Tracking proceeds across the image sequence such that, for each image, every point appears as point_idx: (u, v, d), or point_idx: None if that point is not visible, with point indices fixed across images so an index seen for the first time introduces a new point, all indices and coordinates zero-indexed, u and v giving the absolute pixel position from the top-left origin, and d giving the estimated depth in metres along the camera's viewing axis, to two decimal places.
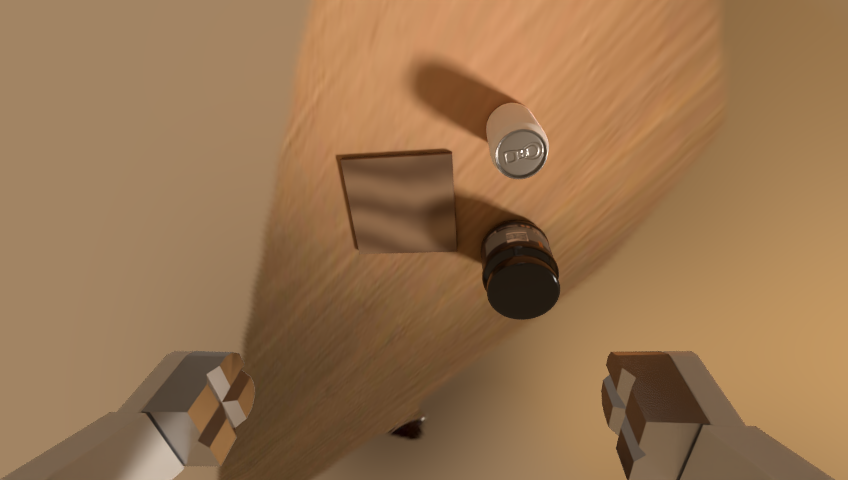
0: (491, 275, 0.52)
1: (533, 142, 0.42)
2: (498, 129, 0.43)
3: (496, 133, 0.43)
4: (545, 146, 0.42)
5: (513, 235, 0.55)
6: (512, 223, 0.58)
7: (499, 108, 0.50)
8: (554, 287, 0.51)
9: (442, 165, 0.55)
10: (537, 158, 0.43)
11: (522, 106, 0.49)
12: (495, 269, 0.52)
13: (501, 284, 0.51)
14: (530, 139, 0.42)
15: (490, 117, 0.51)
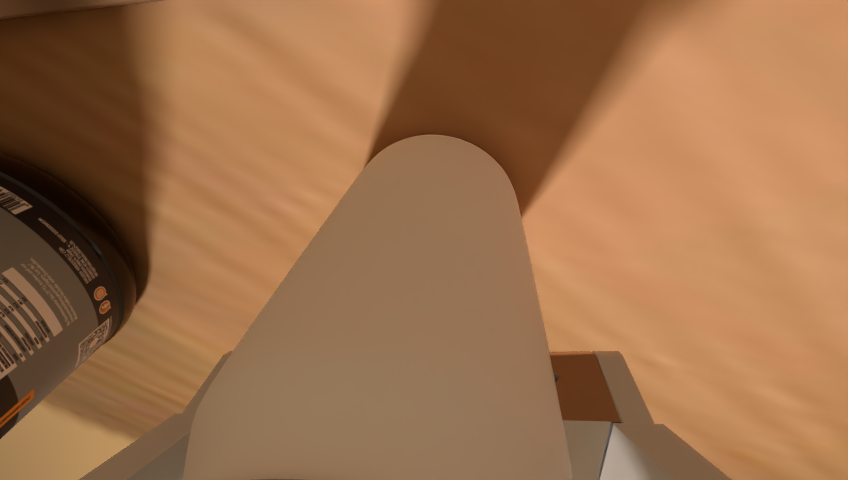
0: None
1: None
2: (512, 353, 0.06)
3: (493, 366, 0.05)
4: None
5: (6, 309, 0.13)
6: (97, 255, 0.16)
7: (510, 188, 0.13)
8: None
9: None
10: None
11: None
12: None
13: None
14: None
15: (478, 157, 0.12)
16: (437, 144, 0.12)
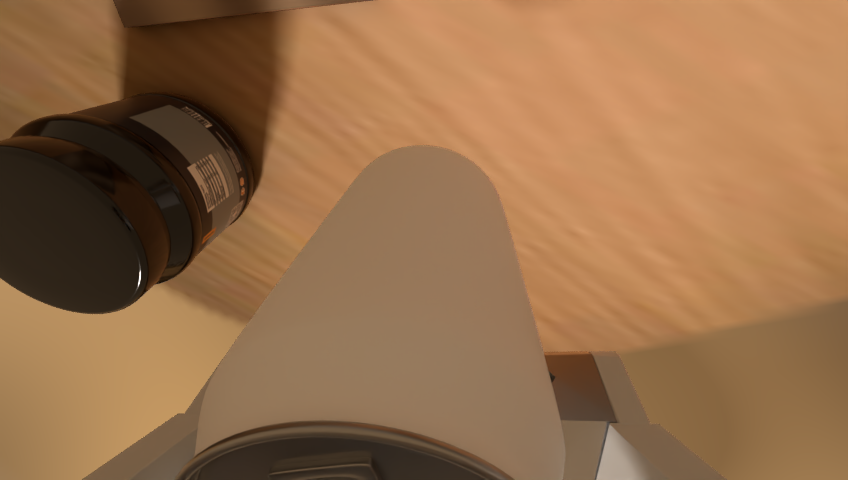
0: (59, 152, 0.18)
1: None
2: (510, 326, 0.06)
3: (495, 333, 0.06)
4: None
5: (211, 174, 0.24)
6: (241, 159, 0.27)
7: (498, 197, 0.14)
8: (102, 303, 0.21)
9: None
10: None
11: None
12: (86, 159, 0.18)
13: (41, 185, 0.17)
14: None
15: (468, 166, 0.13)
16: (430, 153, 0.13)
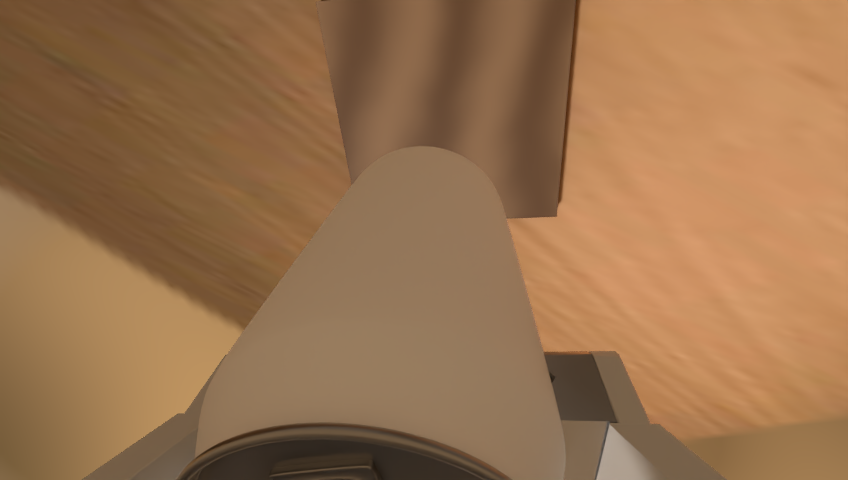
0: None
1: None
2: (511, 328, 0.06)
3: (496, 336, 0.06)
4: None
5: None
6: None
7: (498, 198, 0.14)
8: None
9: (536, 201, 0.30)
10: None
11: None
12: None
13: None
14: None
15: (469, 168, 0.13)
16: (431, 154, 0.13)
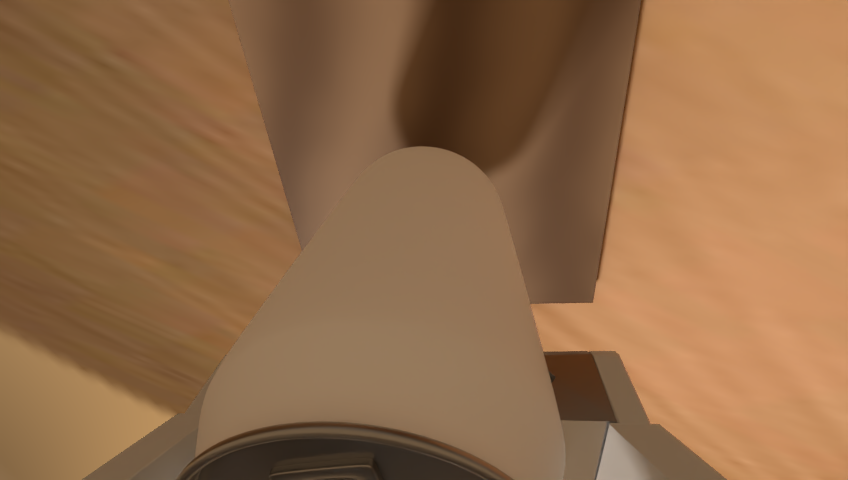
0: None
1: None
2: (511, 328, 0.06)
3: (496, 335, 0.06)
4: None
5: None
6: None
7: (498, 198, 0.14)
8: None
9: (565, 283, 0.21)
10: None
11: None
12: None
13: None
14: None
15: (469, 168, 0.13)
16: (431, 154, 0.13)
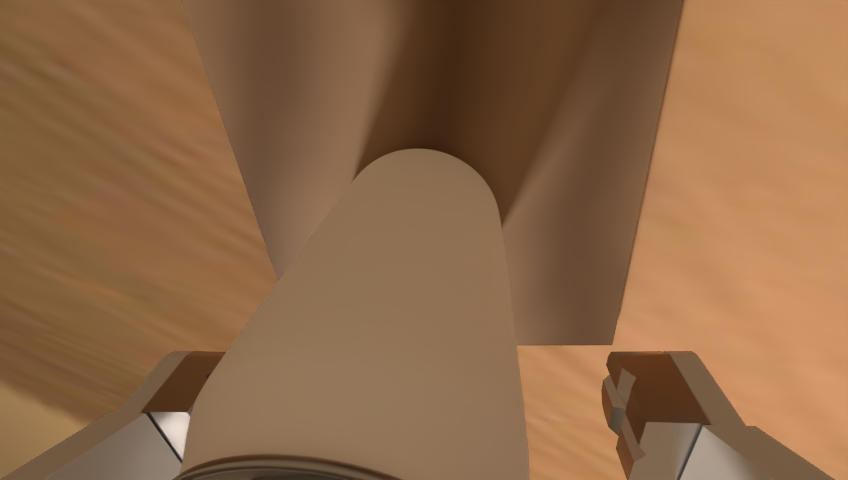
0: None
1: None
2: (483, 357, 0.07)
3: (466, 367, 0.06)
4: None
5: None
6: None
7: (494, 204, 0.14)
8: None
9: (581, 324, 0.19)
10: None
11: None
12: None
13: None
14: None
15: (466, 174, 0.13)
16: (428, 159, 0.13)
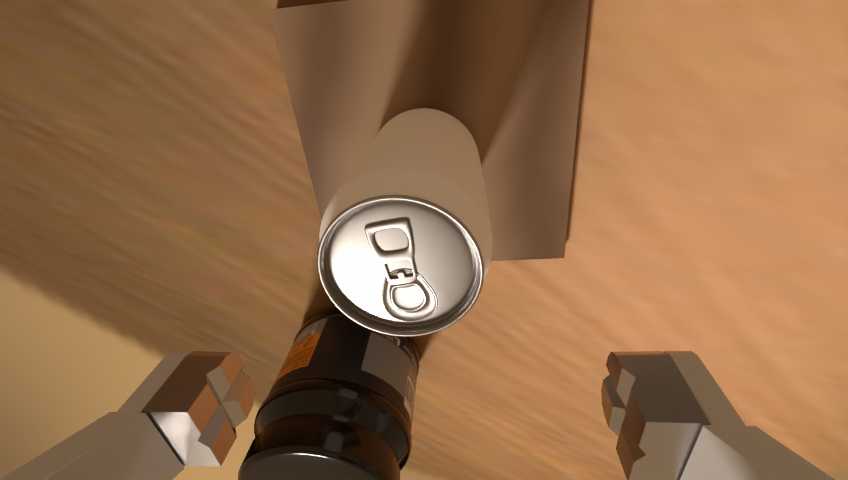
0: (346, 443, 0.21)
1: (435, 300, 0.14)
2: (469, 185, 0.14)
3: (461, 183, 0.13)
4: (422, 329, 0.14)
5: (411, 395, 0.28)
6: (416, 359, 0.31)
7: (475, 144, 0.21)
8: None
9: (541, 241, 0.26)
10: (384, 308, 0.14)
11: None
12: (361, 442, 0.22)
13: (332, 471, 0.21)
14: (447, 292, 0.14)
15: (456, 122, 0.21)
16: (432, 112, 0.20)
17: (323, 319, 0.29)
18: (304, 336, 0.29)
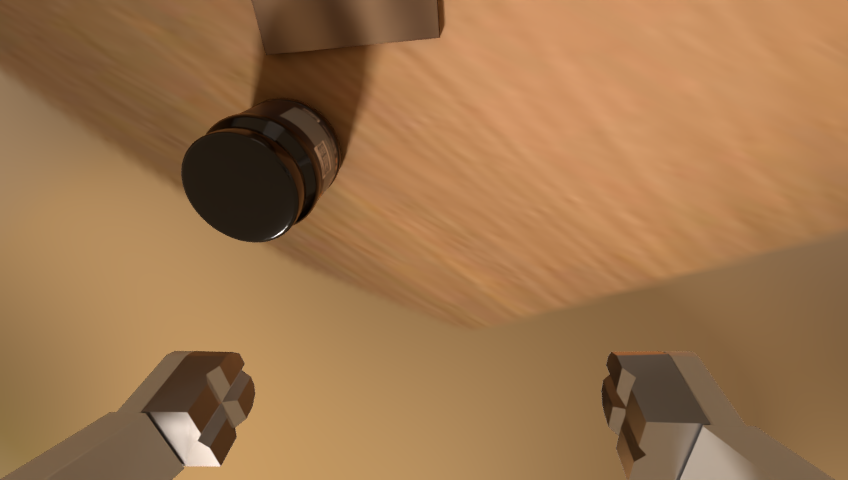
0: (257, 136, 0.29)
1: None
2: None
3: None
4: None
5: (324, 154, 0.36)
6: (336, 144, 0.39)
7: None
8: (264, 234, 0.33)
9: (419, 21, 0.33)
10: None
11: None
12: (269, 141, 0.30)
13: (246, 156, 0.29)
14: None
15: None
16: None
17: (260, 104, 0.37)
18: None
